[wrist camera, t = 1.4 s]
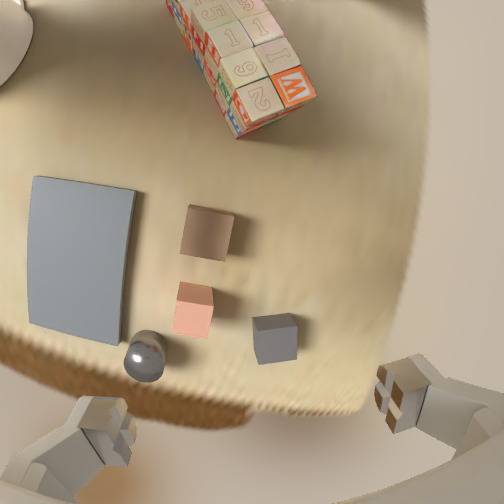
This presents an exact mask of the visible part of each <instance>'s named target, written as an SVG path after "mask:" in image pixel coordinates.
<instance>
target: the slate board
mask: <svg viewBox="0 0 504 504" xmlns="http://www.w3.org/2000/svg"><path fill="white" fill-rule="evenodd" d="M136 194H137V191H135V190H130V189H124V188H117V187H111V186H105V185H99V184H92V183H86V182H79V181H72V180H65V179H58V178H51V177H44V176H33V183H32V191H31V199H30V209H29V221H28V239H27V295H28V312H29V323H32V324H35V325H38V326H41V327H45V328H48V329H52V330H55V331H59V332H62V333H66V334H70V335H73V336H77V337H81V338H85V339H89V340H93V341H97V342H101V343H106V344H110V345H115V346H119V343H120V341H121V323H122V307H123V293H124V282H125V272H126V263H127V254H128V246H129V238H130V231H131V224H132V218H133V211H134V205H135V199H136Z"/></svg>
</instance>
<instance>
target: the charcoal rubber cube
mask: <svg viewBox="0 0 504 504" xmlns="http://www.w3.org/2000/svg"><path fill="white" fill-rule="evenodd" d="M252 318H253V340H254V351H255V354H256V358H257V361H258V364H259V365H261V364H268V363H276V362H283V361H290V360H296V359H297V337H298V326H297V324H296V322H295V321H294V319H293V318H292V316H291V315H290V313H286V314H278V315H269V316H260V317H252Z"/></svg>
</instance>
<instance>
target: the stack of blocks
mask: <svg viewBox="0 0 504 504" xmlns="http://www.w3.org/2000/svg"><path fill="white" fill-rule="evenodd" d="M166 4H167V7H168V9H169V10H170V12H171V14H172V16H173V17H174V19H175V22H176V24H177V26H178V28H179V30H180V32H181V34H182V35H183V37H184V39H185V41H186V43H187V45H188V47H189V49H190V51H191V53H192V55H194V57H195V59H196V61H197V63H198V65H199V67H200V69H201V71H202V73H203V74H204V76H205V78H206V80H207V82H208V84H209V86H210V88H211V90H212V92H213V94H214V97H215V99H216V101H217V103H218V105H219V107H220V109H221V111H222V113H223V115H224V117H225V120H226V122H227V124H228V126H229V128H230V130H231V132H232V134H233V136H234V138H235V139H237V138H239V137H241V136H243V135H246V134H248V133H250V132H252V131H255V130H257V129H258V128H261V127H263V126H265V125H268V124H270V123H273V122H275V121H278V120H280V119H282V118H283V117H285V116H286V115H288V114H289V113H291V112H293V111H294V110H296V109H298V108H299V107H301V106H303V105H305V103H307V102H308V101H310V100H311V99H313V98H315V97H316V96H317V95H316V93H315V91H314V89H313V87H312V85H311V83H310V81H309V79H308V77H307V75H306V73H305V72H304V70H303V68H302V67H301V62H300V60H299V59H298V57H297V55H296V53H295V52H294V50H293V48H292V46H291V45H290V43H289V42H288V40H287V38H286V37H284V36H285V35H284V32H283V31H282V29H281V28H280V26H279V25H278V23H277V21H276V20H275V18H274V17H273V15H272V14H271V12H269V11H268V9H267V7H266V5H265V4H264V3H263V1H262V0H166Z"/></svg>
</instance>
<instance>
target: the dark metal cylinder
mask: <svg viewBox="0 0 504 504" xmlns="http://www.w3.org/2000/svg"><path fill="white" fill-rule="evenodd" d="M166 351H167V345H166V342H165V340H164V338H163V337H162V336H161V335H159V334H158V333H156V332H154V331H150V330H143V331H139V332H137V333H136V334H135V335H134V336H133V338H132V340H131V343H130V345H129V348H128V351H127V354H126V356H125V359H124V367H125V370H126V371H127V373H128V374H129V375H130V376H131V377H132V378H134V379H135V380H137V381H140V382H154V381H156V380H158V379H159V378H160V377H161V376H162V374H163V370H164V364H165V358H166Z"/></svg>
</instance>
